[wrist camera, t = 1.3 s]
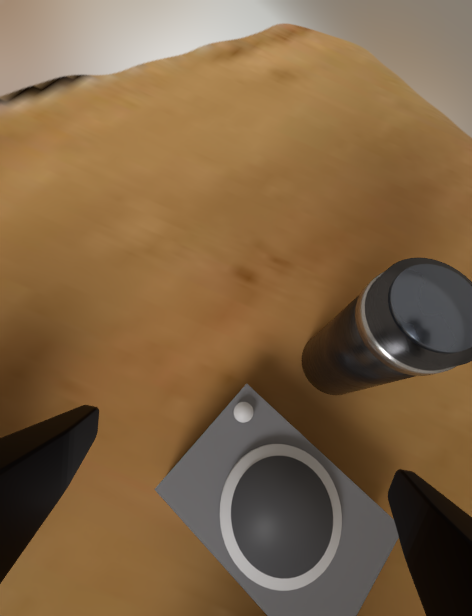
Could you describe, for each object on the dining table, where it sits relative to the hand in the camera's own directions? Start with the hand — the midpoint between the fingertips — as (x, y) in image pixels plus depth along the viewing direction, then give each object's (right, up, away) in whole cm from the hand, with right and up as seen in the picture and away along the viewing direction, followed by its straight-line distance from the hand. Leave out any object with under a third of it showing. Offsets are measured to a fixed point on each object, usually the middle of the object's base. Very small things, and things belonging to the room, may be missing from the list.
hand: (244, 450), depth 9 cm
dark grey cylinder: (+8, 0, +15) cm, 17 cm away
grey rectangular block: (+2, -9, +11) cm, 14 cm away
